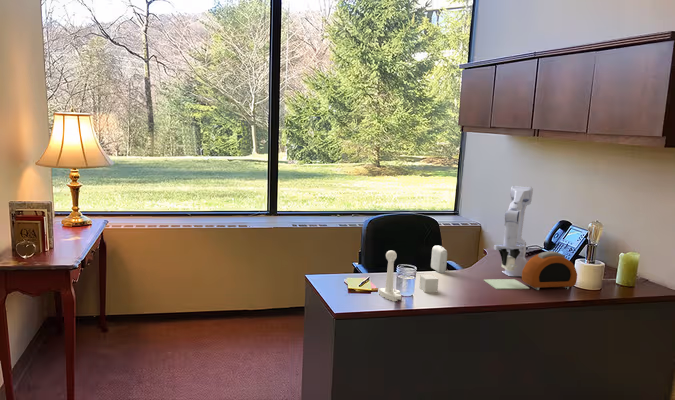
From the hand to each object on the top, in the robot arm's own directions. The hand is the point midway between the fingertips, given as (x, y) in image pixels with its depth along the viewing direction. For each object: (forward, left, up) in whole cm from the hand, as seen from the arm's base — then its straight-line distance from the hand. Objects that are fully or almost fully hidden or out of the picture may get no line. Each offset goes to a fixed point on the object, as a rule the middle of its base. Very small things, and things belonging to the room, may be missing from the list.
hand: (507, 265), depth 240 cm
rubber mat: (0, 0, -9) cm, 9 cm away
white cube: (+40, +6, -10) cm, 42 cm away
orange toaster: (-19, +4, -10) cm, 22 cm away
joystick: (+59, +14, -10) cm, 61 cm away
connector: (0, +1, -2) cm, 2 cm away
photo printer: (+24, -24, -10) cm, 35 cm away
